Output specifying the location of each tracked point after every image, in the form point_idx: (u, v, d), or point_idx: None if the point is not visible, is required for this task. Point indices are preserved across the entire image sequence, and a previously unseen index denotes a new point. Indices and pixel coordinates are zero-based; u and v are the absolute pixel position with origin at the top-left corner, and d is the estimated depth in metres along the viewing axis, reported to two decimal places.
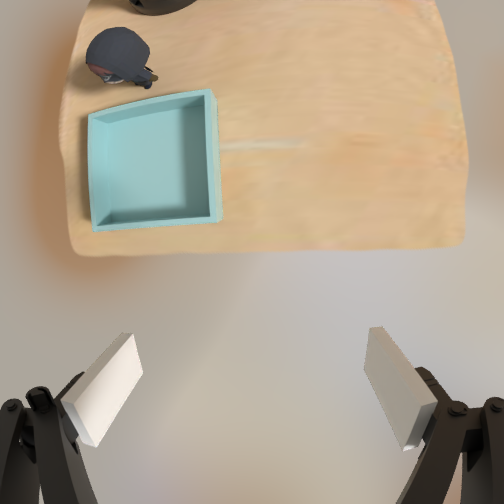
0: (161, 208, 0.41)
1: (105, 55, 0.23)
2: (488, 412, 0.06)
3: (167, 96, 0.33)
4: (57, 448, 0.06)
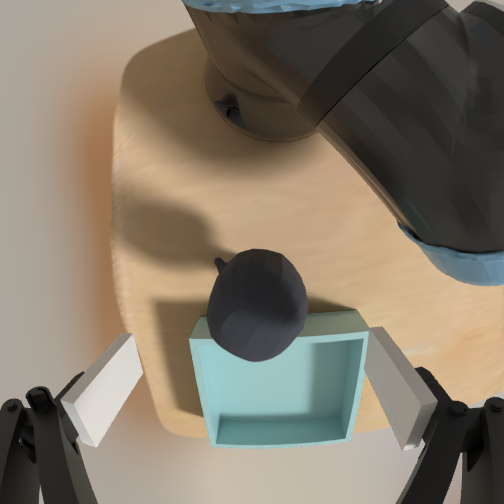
0: (282, 414, 0.35)
1: (265, 355, 0.18)
2: (488, 412, 0.06)
3: (316, 337, 0.27)
4: (57, 448, 0.06)
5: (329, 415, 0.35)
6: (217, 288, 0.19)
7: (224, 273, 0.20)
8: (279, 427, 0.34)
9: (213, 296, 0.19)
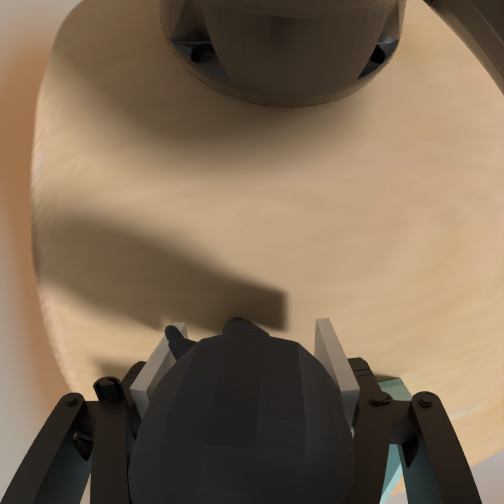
0: None
1: None
2: (417, 408, 0.08)
3: None
4: (118, 442, 0.07)
5: None
6: (134, 462, 0.05)
7: (151, 423, 0.06)
8: None
9: (130, 471, 0.05)
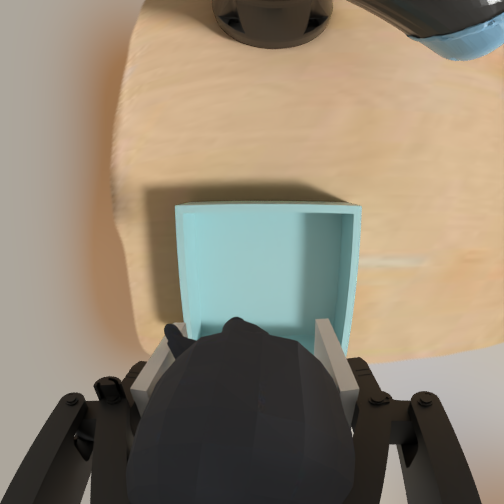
0: (270, 326, 0.36)
1: None
2: (416, 408, 0.08)
3: (304, 206, 0.27)
4: (119, 443, 0.07)
5: None
6: (131, 461, 0.05)
7: (149, 421, 0.06)
8: None
9: (128, 469, 0.05)
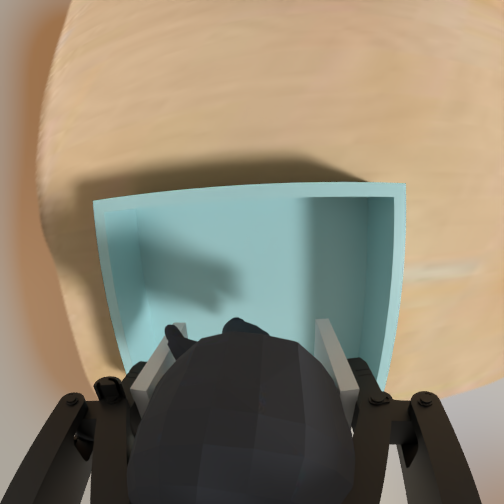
0: None
1: None
2: (416, 408, 0.08)
3: (309, 186, 0.15)
4: (119, 442, 0.07)
5: None
6: (132, 462, 0.05)
7: (149, 422, 0.06)
8: None
9: (128, 470, 0.05)
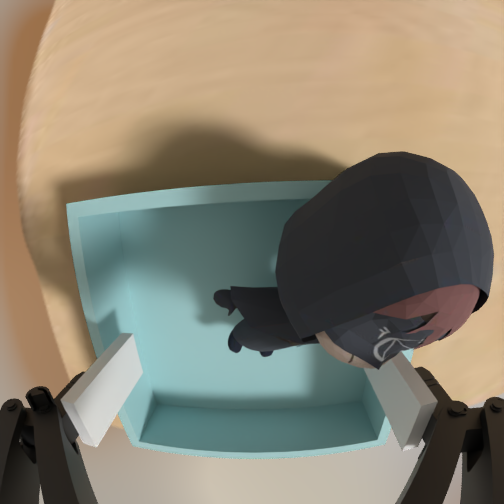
0: (261, 397, 0.20)
1: None
2: (488, 412, 0.06)
3: (317, 185, 0.12)
4: (57, 448, 0.06)
5: (345, 399, 0.20)
6: (376, 180, 0.08)
7: (347, 179, 0.09)
8: (255, 420, 0.19)
9: (382, 197, 0.07)
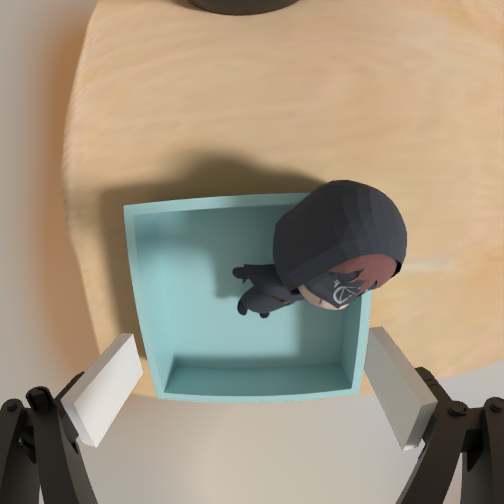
0: (260, 356, 0.27)
1: (406, 241, 0.15)
2: (488, 412, 0.06)
3: (295, 195, 0.20)
4: (57, 448, 0.06)
5: (326, 360, 0.27)
6: (328, 200, 0.15)
7: (312, 199, 0.16)
8: (255, 375, 0.26)
9: (330, 210, 0.15)
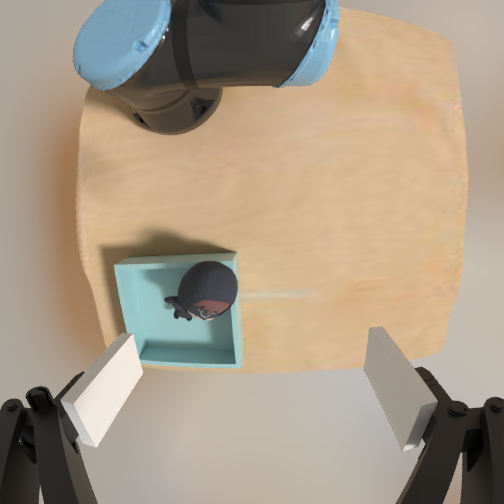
0: (191, 342, 0.48)
1: (232, 292, 0.36)
2: (488, 412, 0.06)
3: (191, 263, 0.40)
4: (57, 448, 0.06)
5: (229, 347, 0.48)
6: (192, 274, 0.35)
7: (189, 272, 0.36)
8: (187, 352, 0.47)
9: (192, 279, 0.35)
